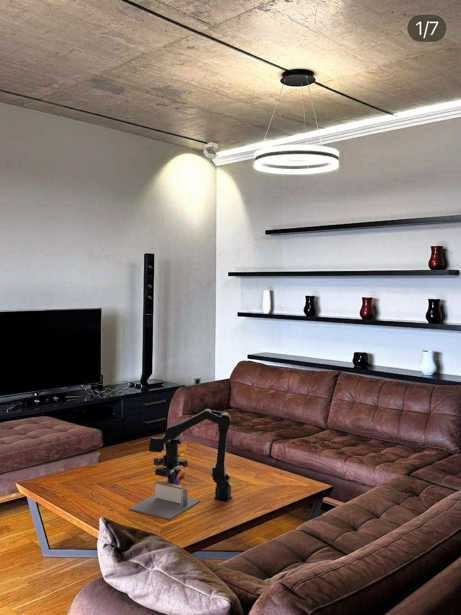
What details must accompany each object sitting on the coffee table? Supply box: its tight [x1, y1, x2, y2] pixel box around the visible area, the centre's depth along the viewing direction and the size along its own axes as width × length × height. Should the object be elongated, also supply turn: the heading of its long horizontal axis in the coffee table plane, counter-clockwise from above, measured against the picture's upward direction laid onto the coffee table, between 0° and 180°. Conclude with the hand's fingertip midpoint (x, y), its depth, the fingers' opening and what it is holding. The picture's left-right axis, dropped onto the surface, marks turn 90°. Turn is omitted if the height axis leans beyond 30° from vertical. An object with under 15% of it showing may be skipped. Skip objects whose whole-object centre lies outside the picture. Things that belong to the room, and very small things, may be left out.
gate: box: [155, 480, 184, 503], centre depth 269 cm, size 14×2×7 cm, turn 61°
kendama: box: [166, 469, 186, 486], centre depth 295 cm, size 6×6×20 cm
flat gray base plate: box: [128, 487, 201, 521], centre depth 265 cm, size 22×24×8 cm
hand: (171, 485), depth 277 cm, fingers closed
